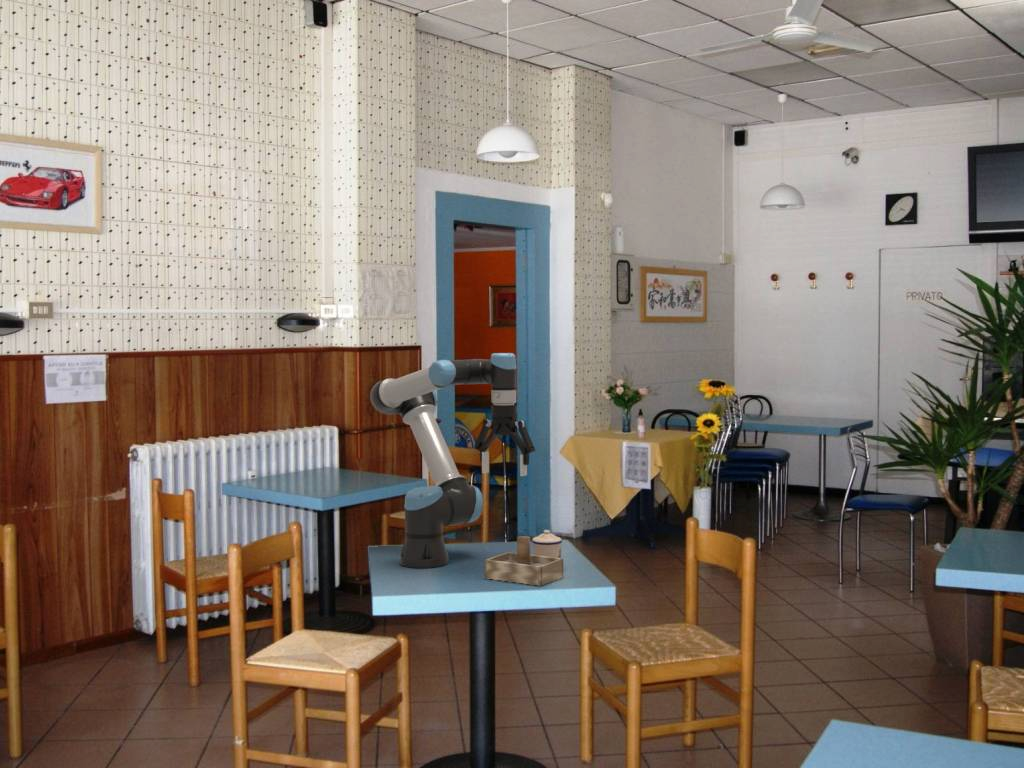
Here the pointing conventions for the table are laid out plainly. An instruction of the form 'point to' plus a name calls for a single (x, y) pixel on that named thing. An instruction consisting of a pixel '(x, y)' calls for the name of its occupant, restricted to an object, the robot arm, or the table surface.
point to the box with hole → (523, 569)
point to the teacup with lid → (547, 545)
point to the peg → (523, 550)
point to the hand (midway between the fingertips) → (504, 474)
